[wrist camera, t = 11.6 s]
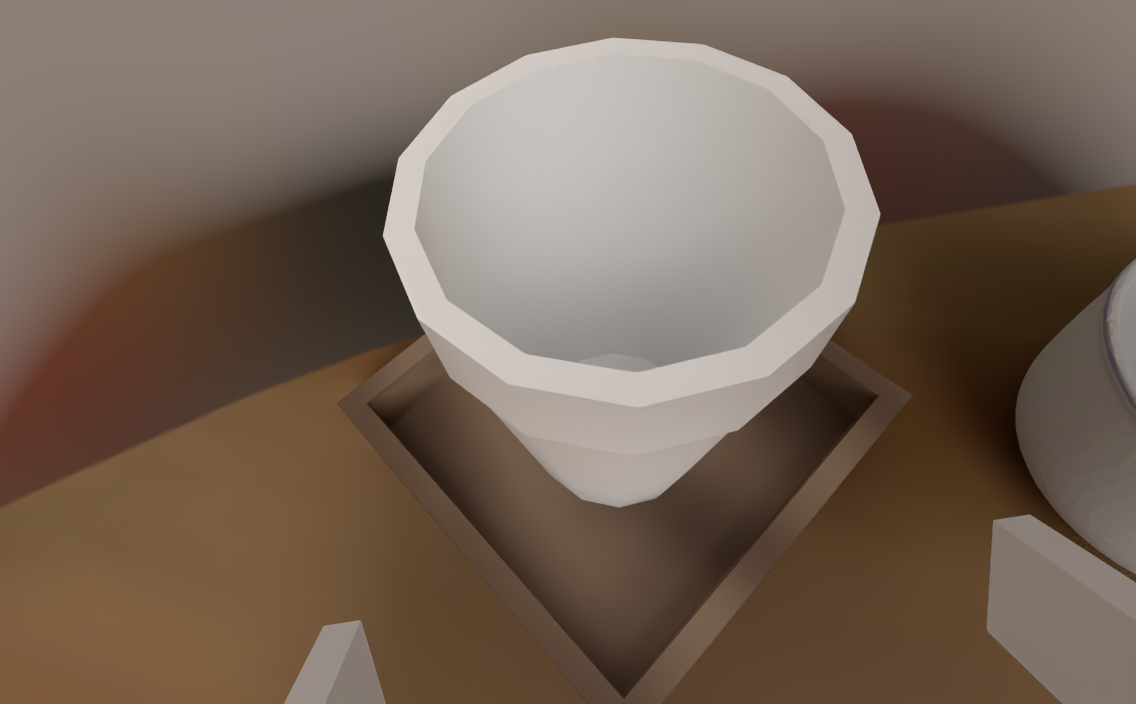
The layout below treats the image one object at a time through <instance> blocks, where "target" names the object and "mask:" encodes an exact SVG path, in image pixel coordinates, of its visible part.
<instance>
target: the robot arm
mask: <svg viewBox="0 0 1136 704" xmlns="http://www.w3.org/2000/svg"><path fill="white" fill-rule="evenodd" d="M987 631H988V632H989V633H990V634H991V635H992V636H993V637H994V638H995V639H996V640H997V641H998V642H999V643H1000V644H1001V645H1002V646H1003V647H1004V648H1005V649H1006V650H1007V651H1008V652H1009V653H1010V654H1011V655H1012V656H1013V657H1014V658H1015V659H1017V660H1018V661H1019V662H1020V663H1021V664H1022V665H1023V666H1024V667H1025V668H1026V669H1027V670H1028V671H1029V672H1030V673H1031V674H1032V675H1033V676H1034V677H1035V678H1036V679H1037V680H1038V681H1039V682H1040V683H1041V684H1042V685H1043V686H1044V687H1045V688H1046V689H1048V690H1049V691H1050V692H1051V693H1052V694H1053V695H1054V696H1055V697H1056V698H1057V699H1058V700H1059V701H1060V702H1061V703H1062V704H1136V582H1134V581H1133V580H1131V579H1129V578H1128V577H1126V576H1125V575H1123V574H1122V573H1120V572H1119V571H1117V570H1115V569H1114V568H1112V567H1111V566H1109V565H1108V564H1106V563H1105V562H1103V561H1101V560H1100V559H1098V558H1097V557H1095V556H1094V555H1092V554H1091V553H1089V552H1088V551H1086V550H1084V549H1083V548H1081V547H1080V546H1078V545H1077V544H1075V543H1074V542H1072V541H1070V540H1069V539H1067V538H1066V537H1064V536H1063V535H1061V534H1060V533H1058V532H1056V531H1055V530H1053V529H1052V528H1050V527H1049V526H1047V525H1046V524H1044V523H1042V522H1041V521H1039V520H1038V519H1036V518H1035V517H1033V516H1032V515H1030V514H1029V515H1023V516H1017V517H1010V518H1004V519H998V520H993V532H992V549H991V565H990V581H989V597H988V614H987ZM284 704H386V703H385V700H384V696H383V693H382V690H381V686H380V683H379V680H378V676H377V673H376V669H375V666H374V663H373V659H372V656H371V653H370V649H369V646H368V642H367V639H366V636H365V632H364V629H363V626H362V622H361V620H358V621H352V622H345V623H339V624H333V625H326V626H323V628H322V630H321V632H320V634H319V636H318V638H317V640H316V642H315V644H314V646H313V648H312V650H311V652H310V654H309V656H308V658H307V660H306V662H305V664H304V666H303V668H302V670H301V671H300V673H299V675H298V677H297V679H296V681H295V683H294V685H293V687H292V689H291V691H290V693H289V695H288V697H287V699H286V701H285V703H284Z"/></svg>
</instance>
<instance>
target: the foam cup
mask: <svg viewBox="0 0 1136 704" xmlns="http://www.w3.org/2000/svg"><path fill="white" fill-rule="evenodd" d="M879 217H880V212H879V209H878V206H877V203H876V200H875V197H874V195H873V192H872V189H871V186H870V183H869V181H868V178H867V175H866V172H865V169H864V167H863V164H862V161H861V158H860V156H859V153H858V150H857V147H856V144H855V142H854V139H853V136H852V134H851V133H850V132H849V131H848V130H846V129H845V128H844V127H843V126H842V125H841V124H840V123H839V122H838V121H836V120H835V119H834V118H833V117H832V116H830V114H829V113H827V112H826V111H825V110H824V109H823V108H822V107H821V106H820V105H818V104H817V103H816V102H815V101H814V100H813V99H812V98H810V97H809V96H808V95H807V94H806V93H805V92H804V91H803V90H802V89H801V88H799V87H798V86H797V85H796V84H795V83H794V82H793V81H792V80H790V79H789V78H788V77H787V76H784V75H781V74H779V73H777V72H774V71H771V70H769V69H766V68H764V67H761V66H758V65H756V64H753V63H751V62H748V61H745V60H743V59H740V58H737V57H735V56H732V55H730V54H727V53H724V52H722V51H719V50H717V49H714V48H711V47H709V46H706V45H703V44H692V43H678V42H665V41H651V40H637V39H624V38H609V39H604V40H599V41H594V42H590V43H584V44H579V45H575V46H570V47H564V48H560V49H554V50H550V51H545V52H540V53H535V54H530V55H525V56H524V57H522V58H520V59H518V60H516V61H514V62H513V63H511V64H509V65H507V66H505V67H503V68H502V69H500V70H498V71H496V72H494V73H492V74H491V75H489V76H487V77H485V78H483V79H481V80H480V81H478V82H476V83H474V84H472V85H470V86H468V87H467V88H465V89H463V90H461V91H459V92H457V93H456V94H454V95H452V96H451V97H450V98H449V99H448V100H447V101H446V102H445V104H444V105H443V106H442V107H441V108H440V110H439V111H438V112H437V113H436V115H435V116H434V117H433V118H432V119H431V120H430V121H429V123H428V124H427V125H426V126H425V127H424V129H423V130H422V131H421V132H420V133H419V135H418V136H417V137H416V138H415V139H414V140H413V142H412V143H411V144H410V145H409V146H408V148H407V149H406V150H405V151H404V153H403V154H402V155H401V156H400V157H399V159H398V165H397V169H396V174H395V179H394V184H393V189H392V194H391V199H390V204H389V209H388V214H387V219H386V224H385V229H384V234H383V237H384V240H385V242H386V244H387V247H388V249H389V251H390V254H391V256H392V259H393V261H394V264H395V266H396V268H397V271H398V273H399V276H400V278H401V280H402V283H403V285H404V288H405V290H406V292H407V295H408V297H409V300H410V302H411V304H412V307H413V309H414V311H415V314H416V316H417V319H418V321H419V322H420V324H421V326H422V328H423V329H424V331H425V333H426V335H427V337H428V339H429V340H430V342H431V344H432V346H433V348H434V349H435V351H436V353H437V355H438V357H439V358H440V360H441V362H442V364H443V366H444V367H445V369H446V371H447V373H448V375H449V376H450V378H451V379H452V380H454V381H455V382H456V383H458V384H459V385H460V386H462V387H463V388H464V389H465V390H467V391H468V392H469V393H471V394H472V395H473V396H475V397H476V398H477V399H479V400H480V401H481V402H483V403H484V404H485V405H487V406H488V407H489V408H490V409H491V410H492V411H493V412H494V413H495V414H496V415H497V416H498V417H499V419H500V420H501V421H502V422H503V423H504V424H505V425H506V426H507V427H508V429H509V430H510V431H511V432H512V433H513V434H514V435H515V436H516V437H517V439H518V440H519V441H520V442H521V443H522V444H523V445H524V446H525V447H526V448H527V450H528V451H529V452H530V453H531V454H532V455H533V456H534V457H535V458H536V460H537V461H538V462H539V463H540V464H541V465H542V466H543V467H544V468H545V470H546V471H547V472H548V473H549V474H550V475H551V476H553V478H555V479H556V480H557V481H558V482H560V483H561V484H562V485H564V486H565V487H566V488H568V489H569V490H570V491H571V492H573V493H574V494H575V495H577V496H578V497H579V498H580V499H582V500H586V501H590V502H595V503H600V504H605V505H609V506H614V507H619V508H620V507H624V506H628V505H632V504H636V503H640V502H644V501H648V500H652V499H656V498H657V497H658V496H660V495H661V494H662V493H663V492H664V491H665V490H667V489H668V488H669V487H670V486H671V485H672V484H674V483H675V482H676V481H677V480H678V479H679V478H681V477H682V476H683V475H684V474H685V473H686V472H687V471H689V470H690V469H691V468H692V467H693V466H694V465H695V464H696V463H697V462H698V461H699V460H700V459H701V458H702V457H703V456H704V455H705V454H706V453H707V452H708V451H709V450H711V449H712V448H713V447H714V446H715V445H716V444H717V443H718V442H719V441H720V440H721V439H722V438H723V437H724V436H725V435H726V434H727V433H729V432H733V431H737V430H739V429H740V428H741V427H742V426H744V425H745V424H746V423H747V422H748V421H749V420H751V419H752V418H753V417H754V416H755V415H756V414H757V413H759V412H760V411H761V410H762V409H763V408H764V407H766V406H767V405H768V404H769V403H770V402H771V401H772V400H774V399H775V398H776V397H777V396H778V395H779V394H781V393H782V392H783V391H784V390H785V389H786V388H787V387H789V386H790V385H791V384H792V383H793V382H794V381H796V380H797V379H798V378H799V377H800V376H801V375H802V374H804V373H805V372H806V371H807V370H808V369H809V368H811V366H812V365H813V363H814V362H815V360H816V359H817V358H818V356H819V355H820V353H821V352H822V350H823V349H824V347H825V346H826V344H827V343H828V341H829V340H830V339H831V337H832V336H833V334H834V333H835V331H836V330H837V328H838V327H839V325H840V324H841V322H842V321H843V320H844V318H845V317H846V315H847V314H848V312H849V311H850V309H851V308H852V306H853V305H854V303H855V301H856V298H857V294H858V291H859V287H860V284H861V280H862V277H863V273H864V270H865V266H866V263H867V259H868V256H869V252H870V249H871V245H872V242H873V238H874V235H875V231H876V228H877V224H878V221H879Z"/></svg>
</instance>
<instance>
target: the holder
mask: <svg viewBox="0 0 1136 704" xmlns="http://www.w3.org/2000/svg"><path fill="white" fill-rule="evenodd" d="M912 396H913V395H911V394H910V393H908V392H907V391H905V390H904V389H902V388H901V387H899V386H898V385H896V384H895V383H893V382H892V381H891V380H889V379H888V378H886V377H885V376H883V375H882V374H880V373H879V372H877V371H876V370H874V369H873V368H871V367H870V366H868V365H867V364H866V363H864V362H863V361H861V360H860V359H858V358H857V357H855V356H854V355H852V354H851V353H849V352H848V351H846V350H845V349H843V348H842V347H841V346H839V345H838V344H836V343H835V342H833V341H832V340H829V341H828V343H827V344H826V346H825V347H824V349H823V350H822V352H821V353H820V355H819V356H818V358H817V359H816V360H815V362H814V363H813V365H812V366H811V368H809V369H808V370H807V371H806V372H805V373H804V374H802V375H801V376H800V377H799V378H798V379H797V380H796V381H794V382H793V383H792V384H791V385H790V386H789V387H787V388H786V389H785V390H784V391H783V392H782V393H781V394H779V395H778V396H777V397H776V398H775V399H774V400H772V401H771V402H770V403H769V404H768V405H767V406H766V407H764V408H763V409H762V410H761V411H760V412H759V413H757V414H756V415H755V416H754V417H753V418H752V419H751V420H749V421H748V422H747V423H746V424H745V425H744V426H742V427H741V428H740V429H739V430H737V431H733V432H729V433H727V434H726V435H725V436H724V437H723V438H722V439H721V440H720V441H719V442H718V443H717V444H716V445H715V446H714V447H713V448H712V449H711V450H709V451H708V452H707V453H706V454H705V455H704V456H703V457H702V458H701V459H700V460H699V461H698V462H697V463H696V464H695V465H694V466H693V467H692V468H691V469H690V470H689V471H687V472H686V473H685V474H684V475H683V476H682V477H681V478H679V479H678V480H677V481H676V482H675V483H674V484H672V485H671V486H670V487H669V488H668V489H667V490H665V491H664V492H663V493H662V494H661V495H660V496H658V497H657V498H656V499H652V500H648V501H644V502H640V503H636V504H632V505H628V506H624V507H620V508H619V507H614V506H609V505H605V504H600V503H595V502H590V501H586V500H582V499H580V498H579V497H578V496H577V495H575V494H574V493H573V492H571V491H570V490H569V489H568V488H566V487H565V486H564V485H562V484H561V483H560V482H558V481H557V480H556V479H555V478H553V476H551V475H550V474H549V473H548V472H547V471H546V470H545V468H544V467H543V466H542V465H541V464H540V463H539V462H538V461H537V460H536V458H535V457H534V456H533V455H532V454H531V453H530V452H529V451H528V450H527V448H526V447H525V446H524V445H523V444H522V443H521V442H520V441H519V440H518V439H517V437H516V436H515V435H514V434H513V433H512V432H511V431H510V430H509V429H508V427H507V426H506V425H505V424H504V423H503V422H502V421H501V420H500V419H499V417H498V416H497V415H496V414H495V413H494V412H493V411H492V410H491V409H490V408H489V407H488V406H487V405H485V404H484V403H483V402H481V401H480V400H479V399H477V398H476V397H475V396H473V395H472V394H471V393H469V392H468V391H467V390H465V389H464V388H463V387H462V386H460V385H459V384H458V383H456V382H455V381H454V380H452V379H451V378H450V376H449V375H448V373H447V371H446V369H445V367H444V366H443V364H442V362H441V360H440V358H439V357H438V355H437V353H436V351H435V349H434V348H433V346H432V344H431V342H430V340H429V339H428V337H427V335H426V334H424V335H423V336H422V337H421V338H419V339H418V340H417V341H416V342H414V343H413V344H412V345H410V346H409V347H408V348H407V349H405V350H404V351H403V352H402V353H400V354H399V355H398V356H397V357H395V358H394V359H393V360H391V361H390V362H389V363H388V364H386V365H385V366H384V367H383V368H381V369H380V370H379V371H377V372H376V373H375V374H374V375H372V376H371V377H370V378H369V379H367V380H366V381H365V382H364V383H362V384H361V385H360V386H358V387H357V388H356V389H355V390H353V391H352V392H351V393H350V394H348V395H347V396H346V397H344V398H343V399H342V400H341V401H339V402H338V403H337V405H338V406H339V407H340V408H341V409H342V411H343V412H344V413H345V414H346V415H347V417H348V418H349V419H350V420H351V421H352V423H353V424H354V425H355V426H356V427H357V428H358V430H359V431H360V432H361V433H362V434H363V436H364V437H365V438H366V439H367V440H368V442H369V443H370V444H371V445H372V446H373V448H374V449H375V450H376V451H377V452H378V454H379V455H380V456H381V457H382V458H383V460H384V461H385V462H386V463H387V464H388V466H389V467H390V468H391V469H392V470H393V472H394V473H395V474H396V475H397V476H398V477H399V479H400V480H401V481H402V482H403V483H404V485H405V486H406V487H407V488H408V489H409V491H410V492H411V493H412V494H413V495H414V497H415V498H416V499H417V500H418V501H419V503H420V504H421V505H422V506H423V507H424V509H425V510H426V511H427V512H428V513H429V515H430V516H431V517H432V518H433V519H434V521H435V522H436V523H437V524H438V525H439V527H440V528H441V529H442V530H443V531H444V532H445V534H446V535H447V536H448V537H449V538H450V540H451V541H452V542H453V543H454V544H455V546H456V547H457V548H458V549H459V550H460V552H461V553H462V554H463V555H464V556H465V558H466V559H467V560H468V561H469V562H470V564H471V565H472V566H473V567H474V568H475V570H476V571H477V572H478V573H479V574H480V576H481V577H482V578H483V579H484V580H485V582H486V583H487V584H488V585H489V586H490V587H491V589H492V590H493V591H494V592H495V593H496V595H497V596H498V597H499V598H500V599H501V601H502V602H503V603H504V604H505V605H506V607H507V608H508V609H509V610H510V611H511V613H512V614H513V615H514V616H515V617H516V619H517V620H518V621H519V622H520V623H521V625H522V626H523V627H524V628H525V629H526V631H527V632H528V633H529V634H530V635H531V637H532V638H533V639H534V640H535V641H536V642H537V644H538V645H539V646H540V647H541V648H542V650H543V651H544V652H545V653H546V654H547V656H548V657H549V658H550V659H551V660H552V662H553V663H554V664H555V665H556V666H557V668H558V669H559V670H560V671H561V672H562V674H563V675H564V676H565V677H566V678H567V680H568V681H569V682H570V683H571V684H572V686H573V687H574V688H575V689H576V690H577V692H578V693H579V694H580V695H581V696H582V697H583V699H584V700H585V701H586V702H587V703H588V704H662V703H663V701H664V700H665V699H666V698H667V696H668V695H669V694H670V693H671V691H672V690H673V689H674V688H675V687H676V685H677V684H678V683H679V682H680V680H681V679H682V678H683V677H684V676H685V674H686V673H687V672H688V671H689V669H690V668H691V667H692V666H693V664H694V663H695V662H696V661H697V660H698V658H699V657H700V656H701V655H702V653H703V652H704V651H705V650H706V649H707V647H708V646H709V645H710V644H711V642H712V641H713V640H714V639H715V637H716V636H717V635H718V634H719V633H720V631H721V630H722V629H723V628H724V626H725V625H726V624H727V623H728V621H729V620H730V619H731V618H732V617H733V615H734V614H735V613H736V612H737V610H738V609H739V608H740V607H741V606H742V604H743V603H744V602H745V601H746V599H747V598H748V597H749V596H750V594H751V593H752V592H753V591H754V590H755V588H756V587H757V586H758V585H759V583H760V582H761V581H762V580H763V579H764V577H765V576H766V575H767V574H768V572H769V571H770V570H771V569H772V567H773V566H774V565H775V564H776V563H777V561H778V560H779V559H780V558H781V556H782V555H783V554H784V553H785V551H786V550H787V549H788V548H789V547H790V545H791V544H792V543H793V542H794V540H795V539H796V538H797V537H798V536H799V534H800V533H801V532H802V531H803V529H804V528H805V527H806V526H807V524H808V523H809V522H810V521H811V520H812V518H813V517H814V516H815V515H816V513H817V512H818V511H819V510H820V509H821V507H822V506H823V505H824V504H825V502H826V501H827V500H828V499H829V497H830V496H831V495H832V494H833V493H834V491H835V490H836V489H837V488H838V486H839V485H840V484H841V483H842V481H843V480H844V479H845V478H846V477H847V475H848V474H849V473H850V472H851V470H852V469H853V468H854V467H855V466H856V464H857V463H858V462H859V461H860V459H861V458H862V457H863V456H864V454H865V453H866V452H867V451H868V450H869V448H870V447H871V446H872V445H873V443H874V442H875V441H876V440H877V439H878V437H879V436H880V435H881V434H882V432H883V431H884V430H885V429H886V427H887V426H888V425H889V424H890V423H891V421H892V420H893V419H894V418H895V416H896V415H897V414H898V413H899V411H900V410H901V409H902V408H903V407H904V405H905V404H906V403H907V402H908V400H909V399H910V398H911V397H912Z"/></svg>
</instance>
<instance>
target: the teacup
mask: <svg viewBox="0 0 1136 704" xmlns="http://www.w3.org/2000/svg"><path fill="white" fill-rule="evenodd" d="M1016 433H1017V437H1018V442H1019V446H1020V451H1021V453H1022V455H1023V458H1024V460H1025V463H1026V465H1027V467H1028V470H1029V472H1030V474H1031V476H1032V478H1033V479H1034V481H1035V483H1036V485H1037V487H1038V488H1039V489H1040V491H1041V492H1042V494H1043V495H1044V497H1045V498H1046V499H1047V501H1048V502H1049V503H1050V504H1051V506H1052V507H1053V508H1054V509H1055V511H1056V512H1057V513H1058V514H1059V515H1060V516H1061V518H1062V519H1063V520H1064V521H1065V522H1066V523H1067V524H1068V525H1070V526H1071V527H1072V528H1073V529H1074V530H1075V531H1076V532H1077V533H1078V534H1079V535H1080V536H1081V537H1082V538H1083V539H1085V540H1086V541H1087V542H1088V543H1089V544H1090V545H1092V546H1093V547H1094V548H1095V549H1097V550H1098V551H1100V552H1101V553H1102V554H1104V555H1105V556H1107V557H1108V558H1110V559H1111V560H1112V561H1114V562H1115V563H1117V564H1119V565H1120V566H1122V567H1124V568H1125V569H1127V570H1129V571H1130V572H1132V573H1134V574H1136V258H1135V259H1134V260H1133V261H1132V262H1131V263H1130V264H1129V265H1128V266H1127V267H1126V268H1125V269H1124V270H1123V271H1122V272H1121V273H1120V274H1119V275H1118V276H1117V277H1116V278H1115V280H1114V281H1113V283H1112V284H1111V286H1110V287H1109V288H1108V289H1107V290H1105V291H1104V292H1103V293H1102V294H1101V295H1100V296H1098V297H1097V298H1096V299H1095V300H1094V301H1093V302H1091V303H1090V304H1089V305H1088V306H1087V307H1086V308H1085V309H1084V310H1083V311H1081V312H1080V313H1079V314H1078V315H1077V316H1076V317H1075V318H1074V319H1073V320H1072V321H1071V322H1070V323H1069V324H1068V325H1067V326H1066V327H1064V328H1063V329H1062V330H1061V331H1060V332H1059V333H1058V334H1057V336H1056V337H1055V338H1054V339H1053V340H1052V341H1051V342H1050V343H1049V344H1048V345H1047V346H1046V347H1045V348H1044V349H1043V350H1042V351H1041V353H1040V354H1039V355H1038V356H1037V357H1036V359H1035V360H1034V362H1033V363H1032V364H1031V366H1030V368H1029V370H1028V371H1027V373H1026V375H1025V377H1024V379H1023V381H1022V384H1021V387H1020V390H1019V393H1018V397H1017V403H1016Z"/></svg>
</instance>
